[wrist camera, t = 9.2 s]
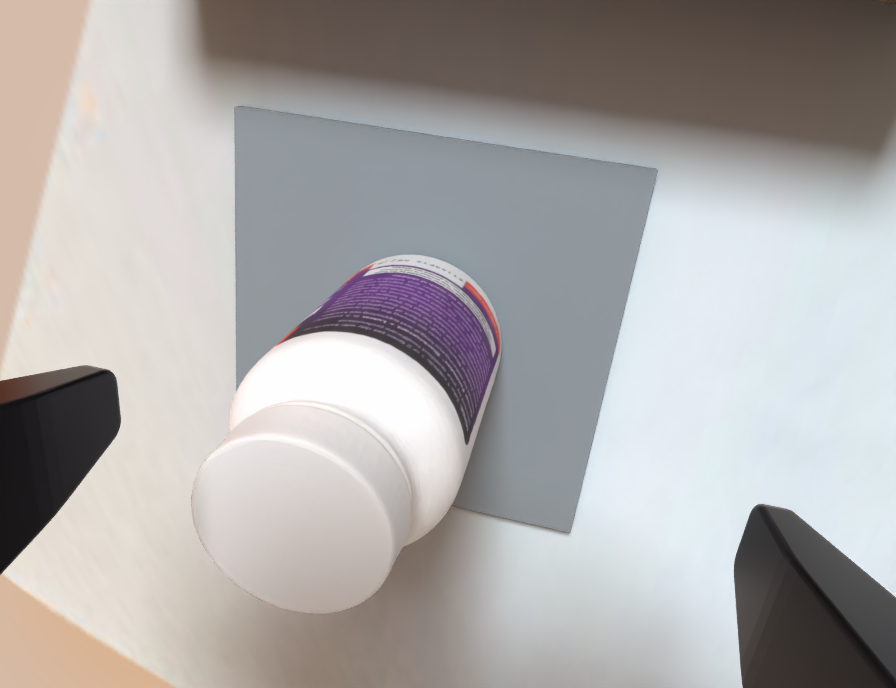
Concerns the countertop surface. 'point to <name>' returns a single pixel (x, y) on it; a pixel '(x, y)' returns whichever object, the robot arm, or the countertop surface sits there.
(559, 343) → the mat
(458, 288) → the pill bottle
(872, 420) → the countertop surface
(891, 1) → the slot box
